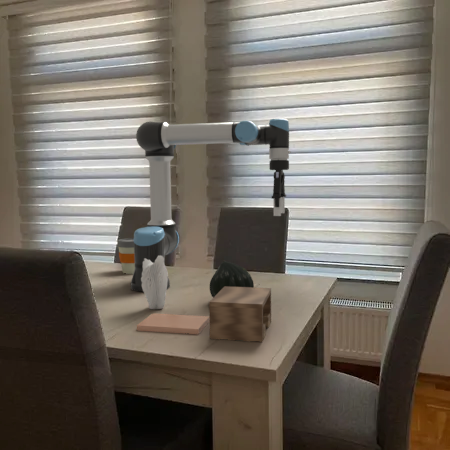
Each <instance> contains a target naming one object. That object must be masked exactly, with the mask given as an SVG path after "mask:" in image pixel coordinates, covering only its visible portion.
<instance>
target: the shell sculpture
mask: <svg viewBox="0 0 450 450" xmlns="http://www.w3.org/2000/svg"><path fill="white" fill-rule="evenodd" d="M144 260H145V261H143V271H142V277H141V281H142V289H143V291H144V292H143V293H144V296H145V298H146V300H147V303H148V308H149V309H150V310H162V309H163V308H164V307H165V305H166V304H165V303H166V297H167V296H166V294H167V291H168V288H167V283H168V278H169V273H168V272H169V271H168V269H167V266H166V265H164V258H163V256H158V257H157V259H156V260H155V263H152V262H151V261H150V260H147V259H146V258H144ZM160 273H161V274H160ZM150 280H151V281H150Z"/></svg>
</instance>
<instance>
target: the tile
mask: <svg viewBox="0 0 450 450" xmlns="http://www.w3.org/2000/svg"><path fill="white" fill-rule="evenodd" d="M208 324H210V317H209V315H208V316H206V315H205V316H204V315H192V314H191V315H189V314H188V315H187V314H171V313H170V314H169V313H154V312H153V313H151V314H150V315H148V316H147V317H146V318H145V319H143V320H142V321H141V322H139V323H138V324H137V325H136V331H139V332H140V331H141V332H156V333H157V332H158V333H171V334H185V333H186V334H187V333H189V334H188V335H200V334H201V332H202V331H203V329H205V327H206V326H207V325H208Z"/></svg>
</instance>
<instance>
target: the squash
mask: <svg viewBox="0 0 450 450" xmlns="http://www.w3.org/2000/svg"><path fill="white" fill-rule="evenodd" d="M254 284H255V283H254V280H253V278H252V276H251V273H250V272H249V271H248V270H247V269H246V268H244V267H243V266H240V265H239V264H236V263H233V262H232V261H231V262H230V261H227V260H223V261H222V262H221V263H220V264H219V265H218V268H216V271H215V273H213V276H212V277H211V279H210V282H209V293H210V295H211V297H212V299H213V298H214V297H215V296H216V295H217V293H218V292H219V291H220V290H221V289H222V288H223V287H224V286H228V287H253V288H255V286H254Z"/></svg>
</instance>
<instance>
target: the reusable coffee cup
mask: <svg viewBox="0 0 450 450" xmlns="http://www.w3.org/2000/svg"><path fill="white" fill-rule="evenodd" d="M133 239H134V237H131V238H130V237H128V238H121V239H118V240H117V247H118V257H119V263H120V264H121V270H122V273H123V274H124V273H126V275H133V274H134V270H135V258H134V240H133Z"/></svg>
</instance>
